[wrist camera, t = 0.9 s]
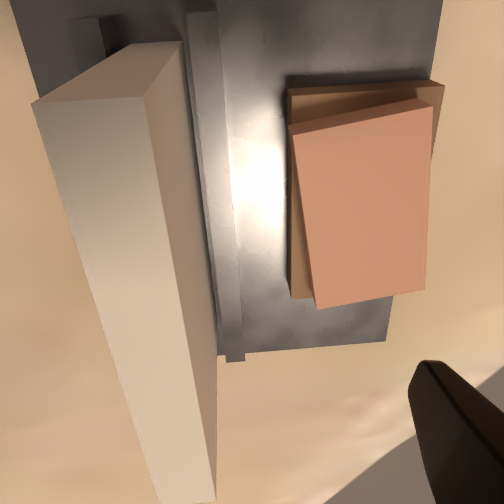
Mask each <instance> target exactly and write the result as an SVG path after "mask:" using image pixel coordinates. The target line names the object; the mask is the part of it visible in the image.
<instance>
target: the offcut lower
mask: <svg viewBox="0 0 504 504" xmlns="http://www.w3.org/2000/svg"><path fill="white" fill-rule="evenodd" d="M444 89H445V86H444V85H442V84H439V83H437V82H435V81H432V80H430V79H428V80H413V81H398V82H382V83H367V84H352V85H337V86H321V87H306V88H291V89H287V270H288V287H289V292H290V296H291V299H304V298H313V296H312V293H311V286H310V279H309V272H308V265H307V258H306V251H305V244H304V237H303V230H302V223H301V216H300V209H299V202H298V195H297V188H296V181H295V174H294V167H293V160H292V153H291V146H290V139H289V132H288V125H291V124H296V123H300V122H305V121H310V120H315V119H319V118H324V117H329V116H334V115H338V114H343V113H348V112H353V111H357V110H362V109H367V108H372V107H376V106H381V105H386V104H391V103H395V102H400V101H405V100H410V99H414V98H419V99H421V100H423V101H424V102H426V103H428V104H430V105H432V106H433V120H432V142H431V158H432V153H433V147H434V142H435V137H436V131H437V126H438V121H439V116H440V110H441V105H442V100H443V94H444Z"/></svg>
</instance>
